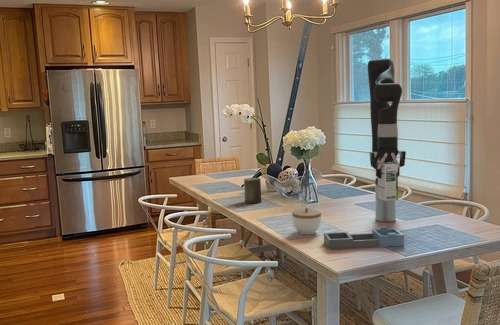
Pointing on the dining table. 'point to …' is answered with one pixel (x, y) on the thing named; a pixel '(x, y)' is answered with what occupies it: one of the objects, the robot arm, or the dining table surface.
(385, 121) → the robot arm
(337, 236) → the frame
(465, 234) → the dining table surface
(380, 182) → the syrup box
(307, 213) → the lidded bowl
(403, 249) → the dining table surface
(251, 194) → the pillar candle
